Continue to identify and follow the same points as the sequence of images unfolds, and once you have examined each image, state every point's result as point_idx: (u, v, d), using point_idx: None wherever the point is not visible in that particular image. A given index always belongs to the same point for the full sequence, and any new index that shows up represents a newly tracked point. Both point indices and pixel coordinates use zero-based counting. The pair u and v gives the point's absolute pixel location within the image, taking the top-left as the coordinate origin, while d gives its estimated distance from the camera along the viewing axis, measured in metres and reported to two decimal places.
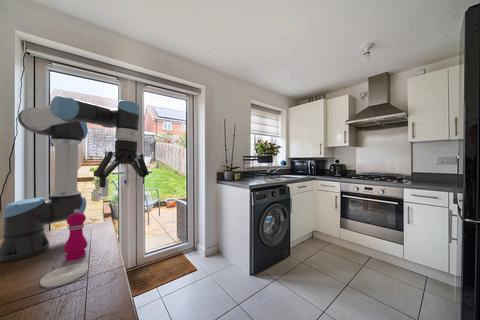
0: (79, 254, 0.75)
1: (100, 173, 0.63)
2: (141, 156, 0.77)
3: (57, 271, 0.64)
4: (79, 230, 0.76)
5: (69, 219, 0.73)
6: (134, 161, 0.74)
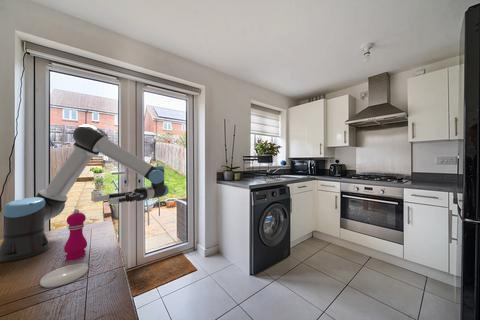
0: (79, 254, 0.75)
1: None
2: None
3: (57, 271, 0.64)
4: (79, 230, 0.76)
5: (69, 220, 0.73)
6: None
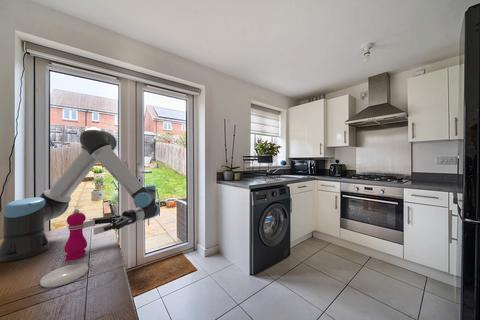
0: (79, 254, 0.75)
1: None
2: None
3: (57, 271, 0.64)
4: (79, 230, 0.76)
5: (69, 220, 0.73)
6: None
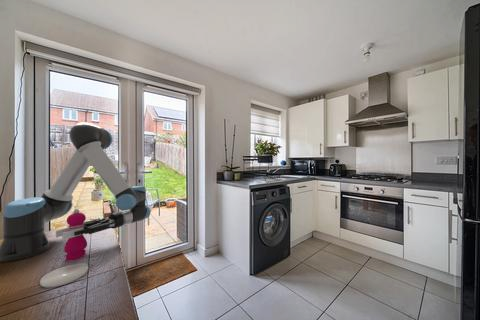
0: (79, 254, 0.75)
1: None
2: (97, 224, 0.88)
3: (57, 271, 0.64)
4: None
5: (69, 219, 0.73)
6: None
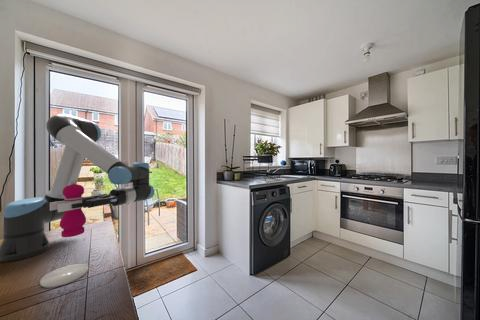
0: (77, 230, 0.66)
1: None
2: None
3: (57, 271, 0.64)
4: None
5: (65, 190, 0.64)
6: None
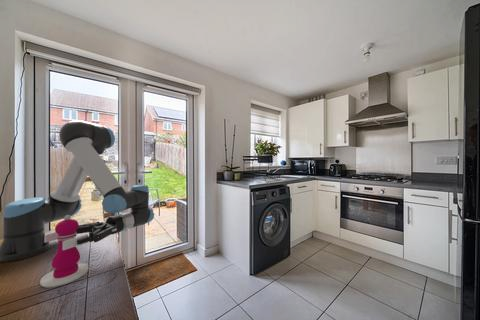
0: (70, 269, 0.62)
1: None
2: None
3: None
4: None
5: (57, 228, 0.61)
6: None
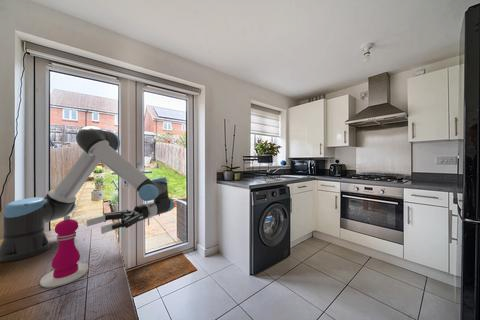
0: (70, 269, 0.62)
1: None
2: None
3: None
4: (70, 241, 0.63)
5: (57, 228, 0.61)
6: None
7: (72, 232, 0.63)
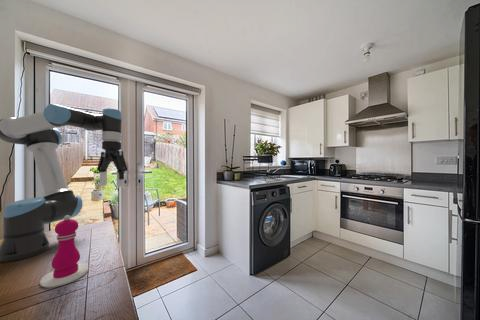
0: (70, 269, 0.62)
1: None
2: None
3: None
4: (70, 241, 0.63)
5: (57, 228, 0.61)
6: None
7: (72, 232, 0.63)
